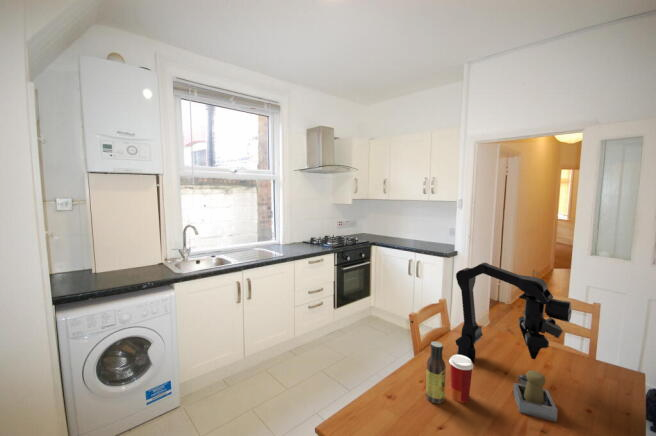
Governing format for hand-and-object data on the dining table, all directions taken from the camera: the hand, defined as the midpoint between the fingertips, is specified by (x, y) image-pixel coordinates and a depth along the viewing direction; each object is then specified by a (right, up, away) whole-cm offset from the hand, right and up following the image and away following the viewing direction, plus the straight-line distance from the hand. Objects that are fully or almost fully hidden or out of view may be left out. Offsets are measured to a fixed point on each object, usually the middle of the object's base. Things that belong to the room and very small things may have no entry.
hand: (530, 352), depth 107 cm
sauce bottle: (-38, -14, -6) cm, 41 cm away
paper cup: (-29, -14, -6) cm, 33 cm away
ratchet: (-4, -14, -6) cm, 16 cm away
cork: (-6, -13, -10) cm, 17 cm away
